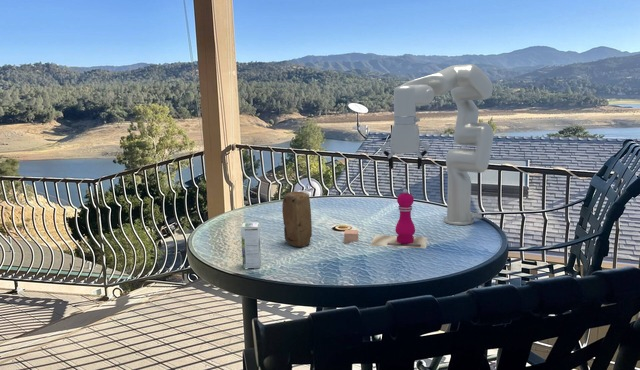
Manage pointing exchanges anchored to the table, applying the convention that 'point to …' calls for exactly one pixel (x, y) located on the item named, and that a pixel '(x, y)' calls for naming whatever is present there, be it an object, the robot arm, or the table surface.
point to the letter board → (392, 242)
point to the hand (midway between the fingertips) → (405, 168)
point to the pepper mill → (405, 219)
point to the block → (297, 218)
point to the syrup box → (251, 245)
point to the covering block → (350, 236)
